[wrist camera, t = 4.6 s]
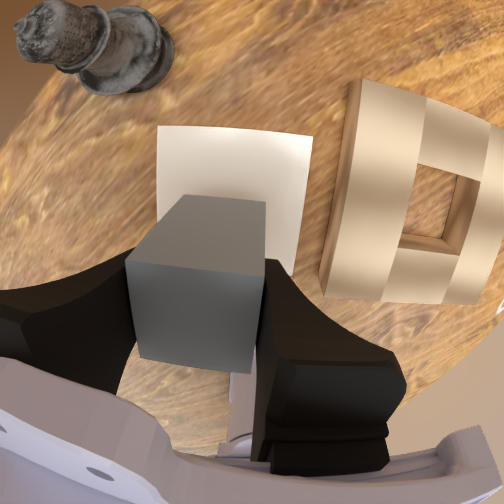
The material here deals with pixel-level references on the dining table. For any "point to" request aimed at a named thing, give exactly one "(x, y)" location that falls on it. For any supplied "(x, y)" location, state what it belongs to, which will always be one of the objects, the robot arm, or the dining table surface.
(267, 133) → the coaster
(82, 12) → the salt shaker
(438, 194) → the dining table surface
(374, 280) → the pocket board
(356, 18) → the dining table surface
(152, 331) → the peg
